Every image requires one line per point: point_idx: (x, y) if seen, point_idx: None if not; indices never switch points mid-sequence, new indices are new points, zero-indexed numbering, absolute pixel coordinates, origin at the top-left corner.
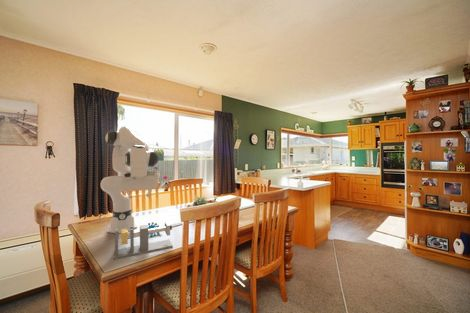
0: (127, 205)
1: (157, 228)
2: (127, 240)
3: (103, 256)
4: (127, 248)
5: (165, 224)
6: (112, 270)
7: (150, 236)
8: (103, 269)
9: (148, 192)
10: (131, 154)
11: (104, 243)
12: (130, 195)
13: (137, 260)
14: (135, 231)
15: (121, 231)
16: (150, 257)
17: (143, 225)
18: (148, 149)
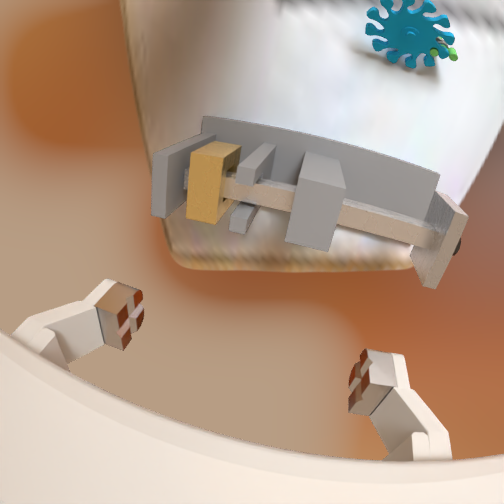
0: None
1: (387, 231)
2: (228, 207)
3: (168, 137)
4: (252, 137)
5: (442, 228)
6: (191, 257)
7: (388, 58)
8: (169, 234)
9: (395, 405)
10: None
11: (180, 7)
12: (113, 343)
13: (267, 249)
14: (268, 192)
15: (189, 192)
16: (312, 259)
17: (321, 186)
18: None
